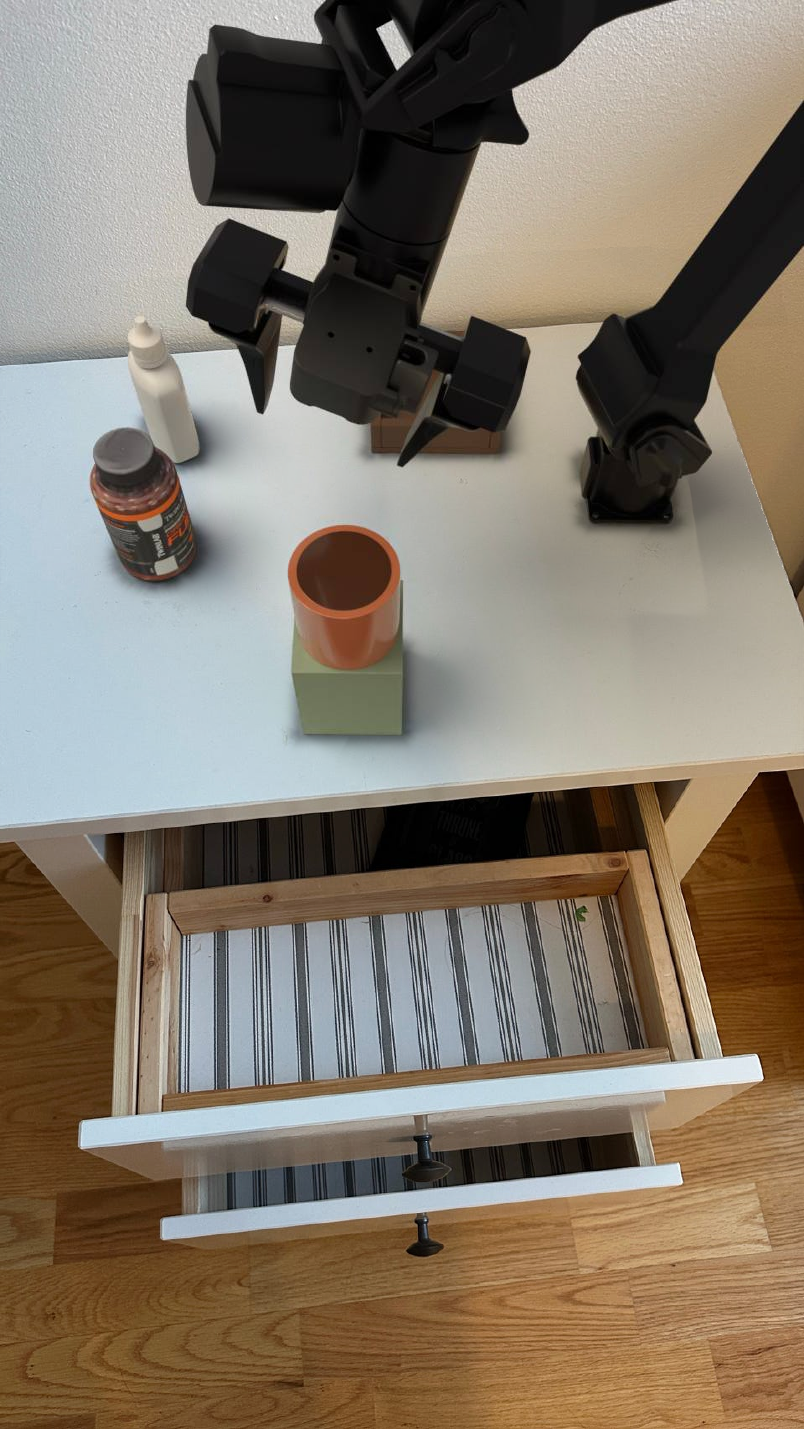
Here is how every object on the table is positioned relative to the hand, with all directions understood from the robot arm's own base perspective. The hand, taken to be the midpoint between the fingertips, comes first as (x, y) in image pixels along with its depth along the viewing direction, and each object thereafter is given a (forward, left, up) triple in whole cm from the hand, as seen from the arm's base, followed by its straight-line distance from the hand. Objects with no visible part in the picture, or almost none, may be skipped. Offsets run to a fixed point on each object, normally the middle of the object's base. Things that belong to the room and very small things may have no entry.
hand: (332, 436), depth 61 cm
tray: (-7, -16, -14) cm, 22 cm away
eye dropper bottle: (+14, -12, -14) cm, 23 cm away
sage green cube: (-1, +11, -14) cm, 18 cm away
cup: (-1, +11, -5) cm, 12 cm away
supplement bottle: (+14, -1, -14) cm, 20 cm away
